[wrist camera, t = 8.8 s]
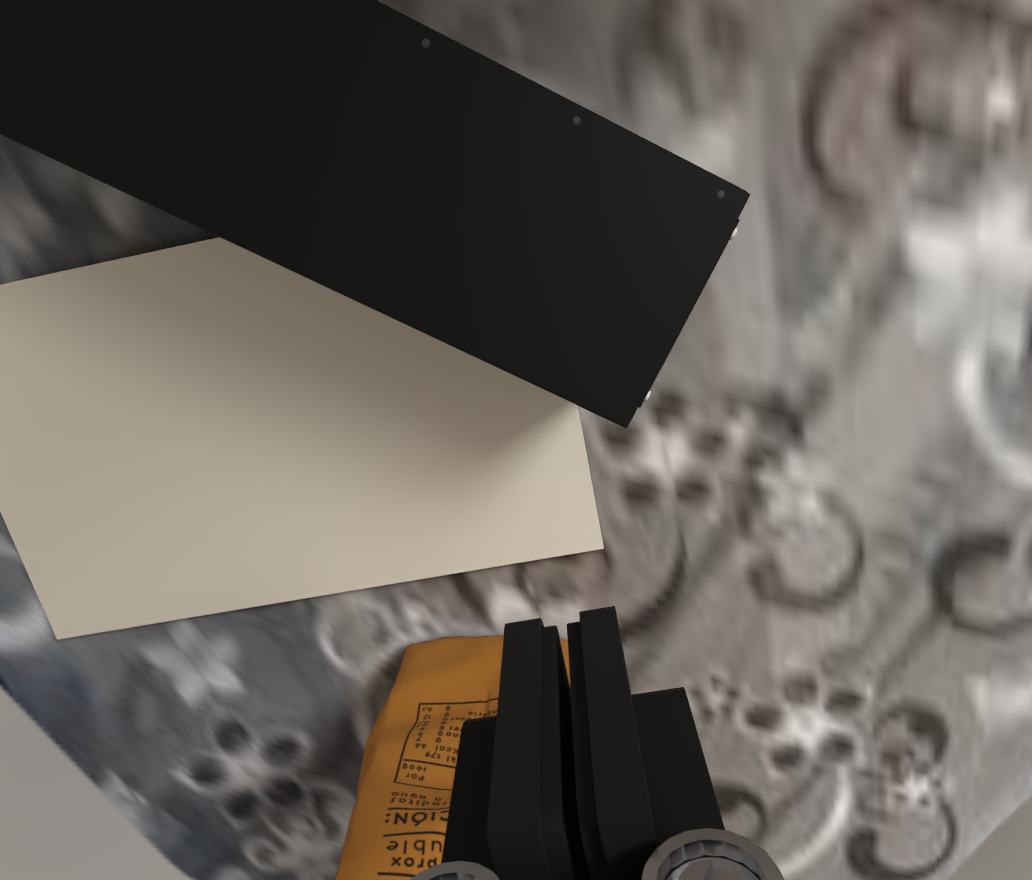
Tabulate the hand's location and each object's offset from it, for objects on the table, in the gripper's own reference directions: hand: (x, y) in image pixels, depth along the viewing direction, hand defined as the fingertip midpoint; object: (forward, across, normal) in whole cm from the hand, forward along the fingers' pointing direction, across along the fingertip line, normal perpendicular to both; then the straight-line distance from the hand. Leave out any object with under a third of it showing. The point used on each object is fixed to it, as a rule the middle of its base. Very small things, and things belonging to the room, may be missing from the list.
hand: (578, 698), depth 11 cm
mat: (+21, +12, 0) cm, 25 cm away
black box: (+17, -4, -2) cm, 18 cm away
